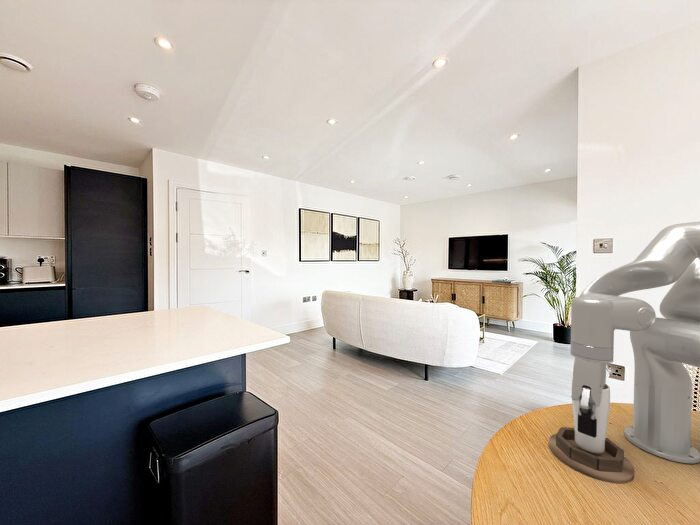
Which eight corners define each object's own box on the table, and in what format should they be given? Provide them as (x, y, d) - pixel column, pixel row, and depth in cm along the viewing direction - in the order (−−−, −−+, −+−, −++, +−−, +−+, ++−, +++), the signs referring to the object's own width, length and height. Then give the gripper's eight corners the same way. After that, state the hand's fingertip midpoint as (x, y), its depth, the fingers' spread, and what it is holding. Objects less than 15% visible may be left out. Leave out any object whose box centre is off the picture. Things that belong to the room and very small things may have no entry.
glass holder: (557, 429, 76) (557, 416, 76) (636, 459, 64) (637, 444, 64) (540, 454, 66) (541, 440, 66) (631, 495, 54) (631, 478, 54)
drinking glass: (616, 459, 61) (618, 391, 61) (581, 454, 62) (582, 388, 62) (596, 440, 68) (597, 378, 67) (564, 436, 69) (565, 375, 69)
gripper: (578, 340, 73) (576, 408, 73) (562, 355, 62) (560, 435, 62) (617, 347, 68) (616, 421, 68) (608, 364, 56) (606, 453, 56)
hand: (589, 427), depth 65 cm, fingers closed on drinking glass, 6 cm apart
